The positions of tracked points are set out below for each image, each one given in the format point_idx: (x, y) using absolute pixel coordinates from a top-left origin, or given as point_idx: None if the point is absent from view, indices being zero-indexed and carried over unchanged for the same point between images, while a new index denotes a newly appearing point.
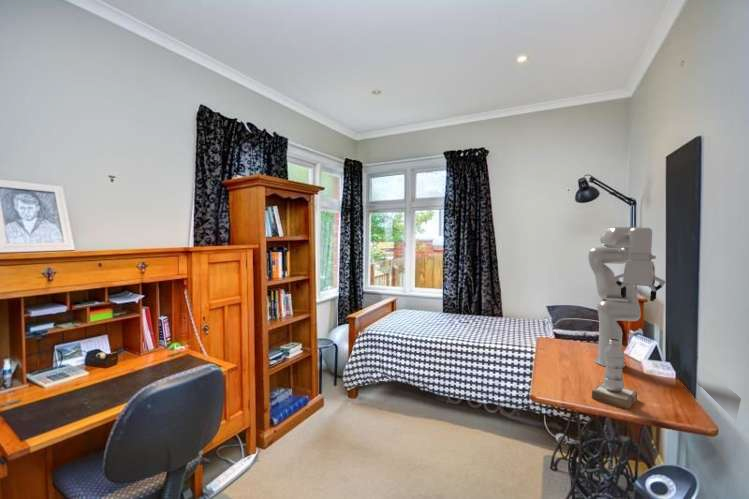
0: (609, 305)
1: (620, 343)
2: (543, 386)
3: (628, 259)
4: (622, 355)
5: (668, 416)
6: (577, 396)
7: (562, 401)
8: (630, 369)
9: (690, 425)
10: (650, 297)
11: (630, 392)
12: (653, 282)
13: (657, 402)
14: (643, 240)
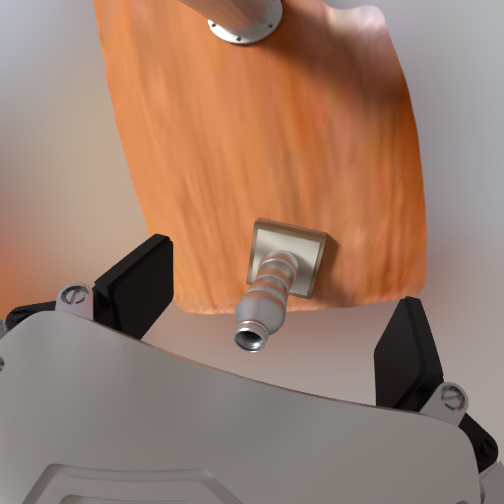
0: None
1: (266, 339)
2: None
3: None
4: (280, 327)
5: (372, 281)
6: (228, 281)
7: (215, 312)
8: (298, 20)
9: (398, 296)
10: (375, 374)
11: (313, 255)
12: (469, 452)
13: (363, 223)
14: None
